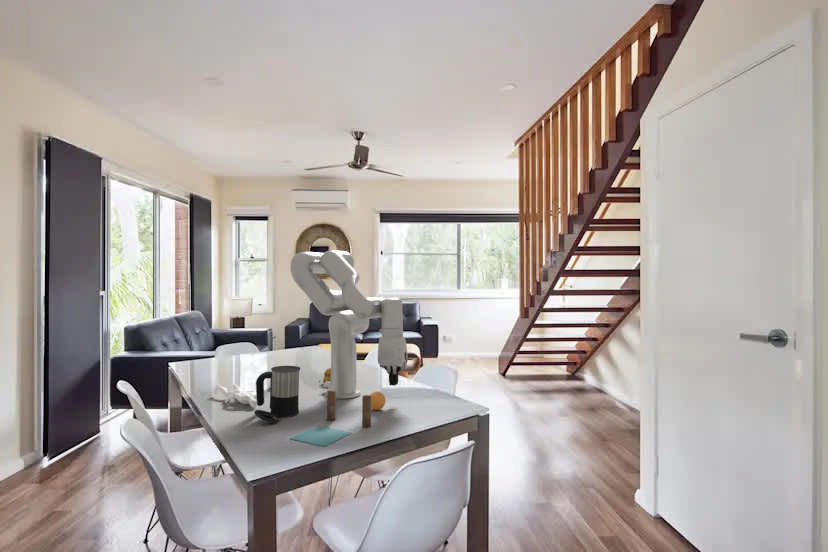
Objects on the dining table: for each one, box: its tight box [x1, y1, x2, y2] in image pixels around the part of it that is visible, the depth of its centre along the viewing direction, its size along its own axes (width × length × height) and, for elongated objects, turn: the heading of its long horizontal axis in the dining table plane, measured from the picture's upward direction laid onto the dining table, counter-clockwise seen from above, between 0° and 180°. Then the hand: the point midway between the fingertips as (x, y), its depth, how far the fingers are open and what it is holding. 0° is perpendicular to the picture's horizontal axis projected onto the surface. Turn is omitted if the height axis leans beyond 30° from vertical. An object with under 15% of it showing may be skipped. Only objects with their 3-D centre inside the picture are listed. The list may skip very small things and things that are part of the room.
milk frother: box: [253, 365, 301, 424], centre depth 146 cm, size 14×16×15 cm
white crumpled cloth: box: [213, 383, 258, 408], centre depth 163 cm, size 12×6×25 cm
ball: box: [369, 391, 387, 411], centre depth 155 cm, size 6×6×6 cm
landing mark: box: [289, 425, 352, 448], centre depth 129 cm, size 12×12×1 cm
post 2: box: [361, 394, 372, 429], centre depth 137 cm, size 3×3×9 cm
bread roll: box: [322, 367, 331, 384], centre depth 191 cm, size 13×10×8 cm
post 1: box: [326, 390, 337, 422], centre depth 144 cm, size 3×3×9 cm
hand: (393, 384), depth 163 cm, fingers closed
